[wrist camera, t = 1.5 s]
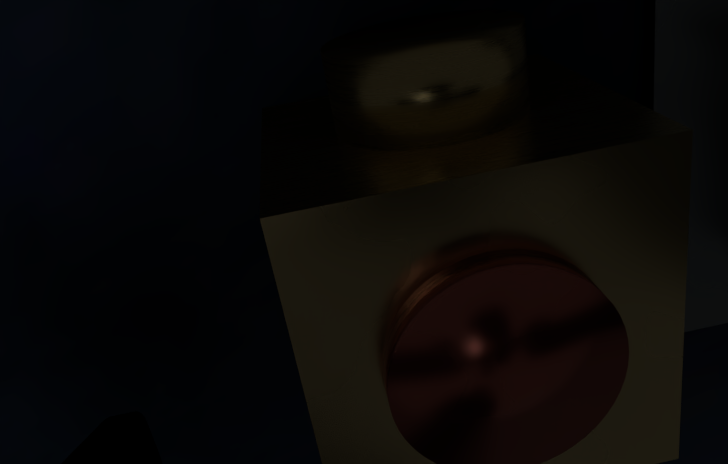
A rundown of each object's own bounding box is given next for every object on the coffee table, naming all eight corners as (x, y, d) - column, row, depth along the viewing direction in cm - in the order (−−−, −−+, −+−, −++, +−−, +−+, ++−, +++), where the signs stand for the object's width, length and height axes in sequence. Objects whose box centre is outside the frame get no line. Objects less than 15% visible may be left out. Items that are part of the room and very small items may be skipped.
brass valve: (552, 337, 15) (694, 544, 10) (327, 386, 15) (359, 623, 10) (532, -17, 12) (726, 28, 7) (245, 38, 12) (230, 128, 7)
